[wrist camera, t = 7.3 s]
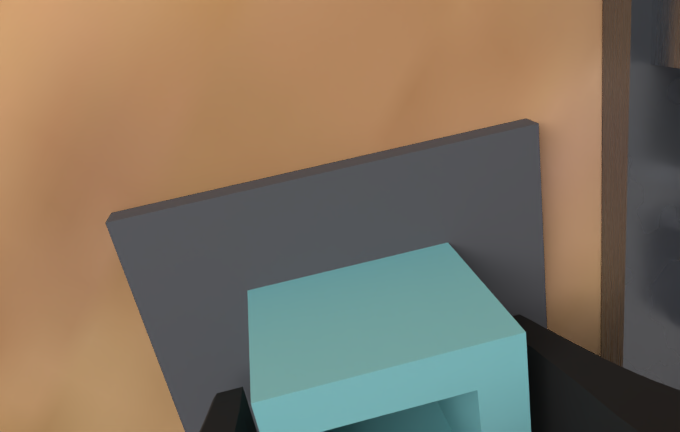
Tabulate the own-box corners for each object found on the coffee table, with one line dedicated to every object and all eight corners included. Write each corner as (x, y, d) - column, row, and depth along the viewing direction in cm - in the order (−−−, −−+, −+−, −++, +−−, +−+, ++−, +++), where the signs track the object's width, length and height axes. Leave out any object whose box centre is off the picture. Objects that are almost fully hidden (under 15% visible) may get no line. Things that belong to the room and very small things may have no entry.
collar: (465, 400, 15) (535, 524, 12) (291, 447, 15) (308, 592, 11) (447, 242, 14) (526, 332, 10) (247, 290, 13) (250, 403, 9)
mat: (541, 429, 17) (551, 444, 17) (225, 518, 16) (225, 537, 16) (526, 118, 13) (538, 123, 13) (111, 212, 12) (105, 222, 12)
